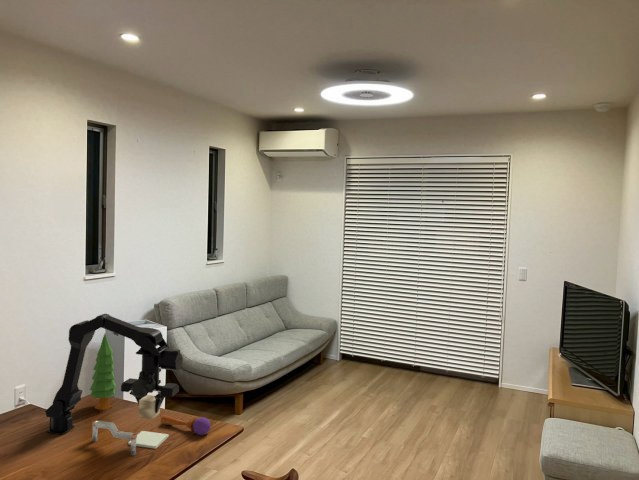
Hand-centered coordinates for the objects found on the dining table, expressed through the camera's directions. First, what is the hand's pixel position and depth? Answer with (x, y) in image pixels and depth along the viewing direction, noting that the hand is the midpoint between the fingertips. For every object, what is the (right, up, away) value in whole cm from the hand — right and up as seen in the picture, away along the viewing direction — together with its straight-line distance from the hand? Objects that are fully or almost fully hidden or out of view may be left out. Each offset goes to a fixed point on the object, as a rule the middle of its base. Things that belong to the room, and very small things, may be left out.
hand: (149, 411), depth 173 cm
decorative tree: (-27, -7, +27) cm, 39 cm away
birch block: (0, -1, 0) cm, 1 cm away
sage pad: (0, -10, +1) cm, 10 cm away
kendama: (+10, -10, +11) cm, 18 cm away
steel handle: (-10, -10, -5) cm, 15 cm away
